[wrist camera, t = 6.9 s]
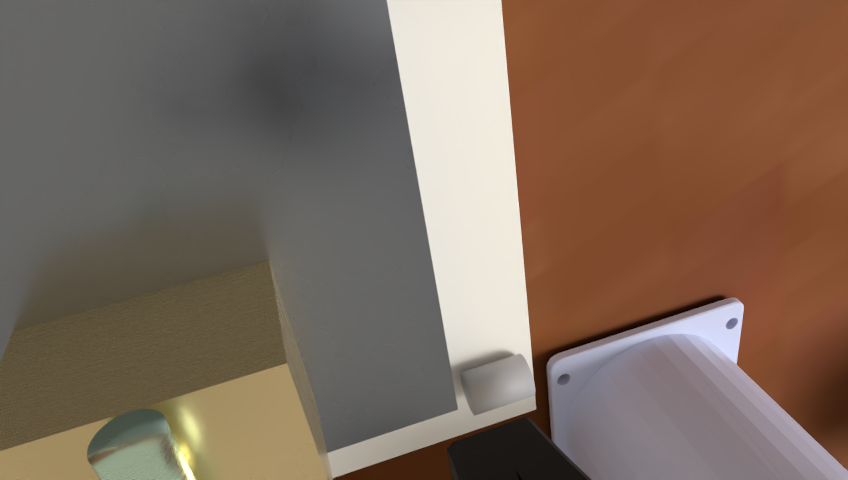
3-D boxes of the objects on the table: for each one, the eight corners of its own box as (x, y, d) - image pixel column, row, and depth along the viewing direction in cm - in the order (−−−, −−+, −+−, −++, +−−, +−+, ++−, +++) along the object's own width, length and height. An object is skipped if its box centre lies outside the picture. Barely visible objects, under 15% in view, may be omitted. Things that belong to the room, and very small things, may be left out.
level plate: (446, 384, 22) (529, 562, 16) (-9, 531, 20) (-89, 796, 14) (350, -142, 14) (449, -136, 8) (-433, 6, 12) (-992, 143, 6)
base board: (519, 381, 25) (553, 438, 23) (-57, 571, 22) (-89, 661, 19) (449, -302, 14) (500, -332, 12) (-700, -128, 11) (-947, -121, 9)
